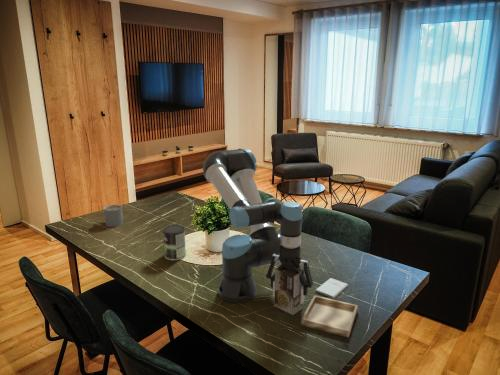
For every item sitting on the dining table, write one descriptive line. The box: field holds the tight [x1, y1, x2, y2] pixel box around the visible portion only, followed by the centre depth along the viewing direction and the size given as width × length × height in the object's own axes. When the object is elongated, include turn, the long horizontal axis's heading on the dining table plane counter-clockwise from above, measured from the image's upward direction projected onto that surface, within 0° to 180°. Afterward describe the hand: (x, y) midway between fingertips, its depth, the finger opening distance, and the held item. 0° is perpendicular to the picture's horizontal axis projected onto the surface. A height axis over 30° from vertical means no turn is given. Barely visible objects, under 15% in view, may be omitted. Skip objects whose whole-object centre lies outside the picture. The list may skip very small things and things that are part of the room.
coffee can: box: [162, 224, 187, 261], centre depth 187 cm, size 10×10×14 cm
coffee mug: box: [103, 204, 124, 228], centre depth 228 cm, size 13×10×10 cm
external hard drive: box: [315, 277, 348, 300], centre depth 160 cm, size 2×8×12 cm
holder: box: [300, 295, 359, 339], centre depth 141 cm, size 17×17×2 cm
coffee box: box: [274, 266, 305, 316], centre depth 146 cm, size 9×6×16 cm
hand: (288, 298), depth 147 cm, fingers closed on coffee box, 10 cm apart
